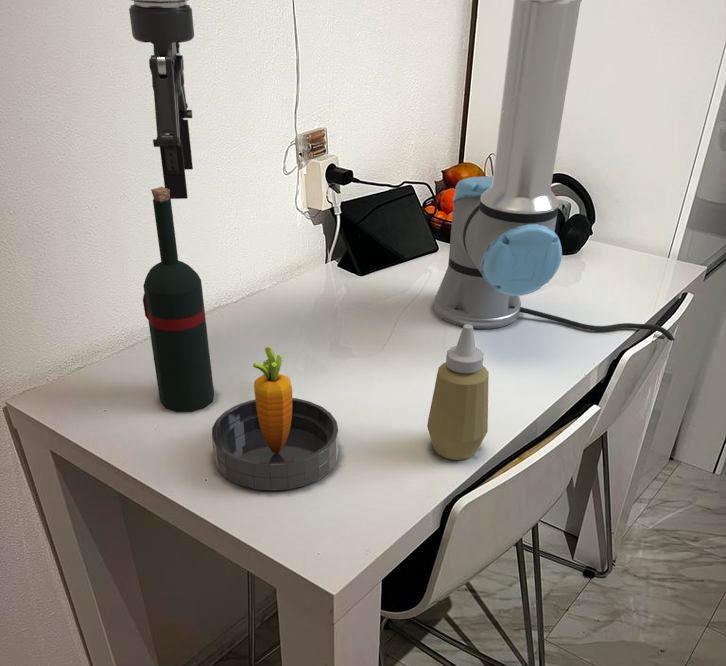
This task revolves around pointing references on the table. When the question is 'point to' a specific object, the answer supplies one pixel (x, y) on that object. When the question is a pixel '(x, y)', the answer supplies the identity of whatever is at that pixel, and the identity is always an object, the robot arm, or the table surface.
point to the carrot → (273, 402)
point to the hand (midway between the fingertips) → (180, 183)
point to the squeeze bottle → (460, 401)
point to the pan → (256, 460)
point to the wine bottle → (177, 321)
